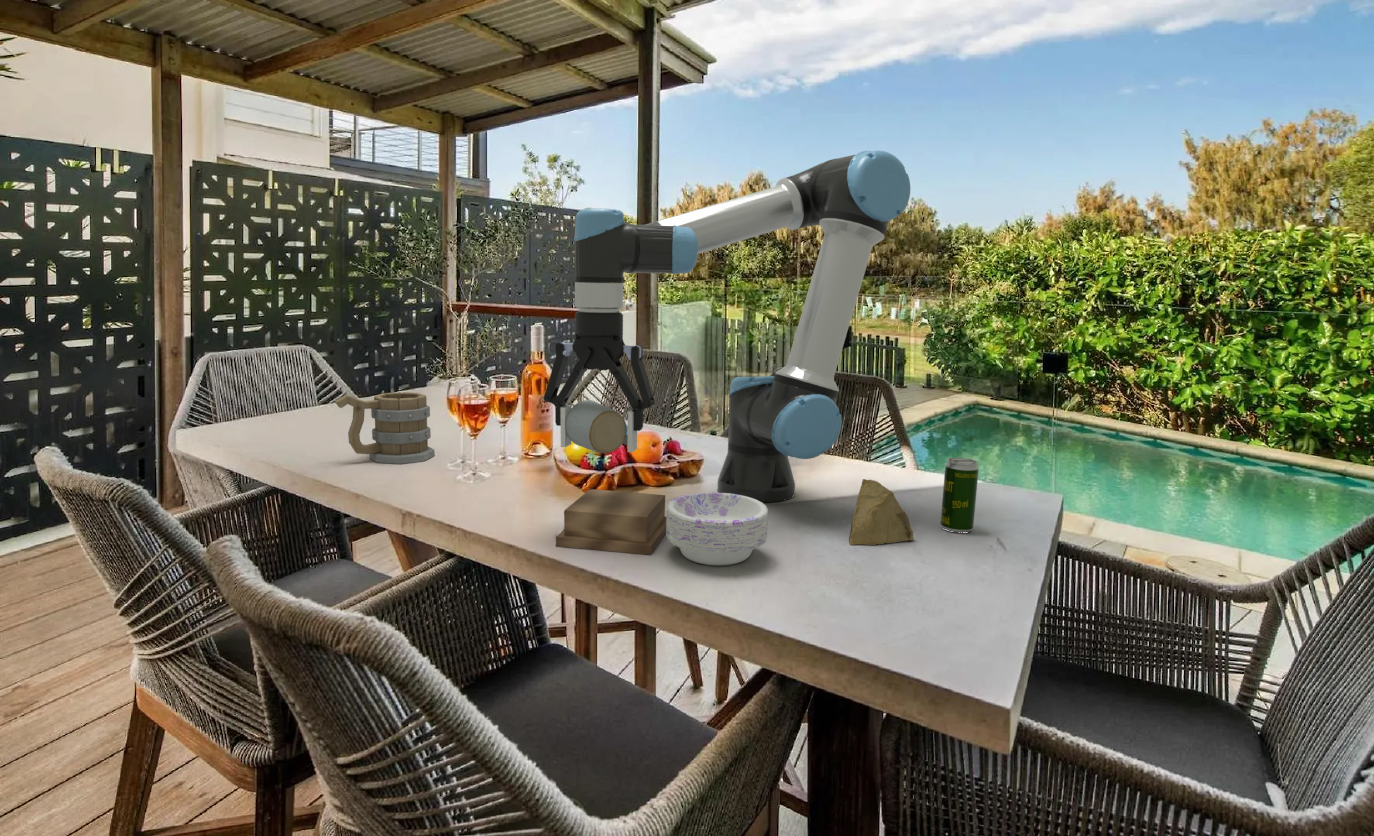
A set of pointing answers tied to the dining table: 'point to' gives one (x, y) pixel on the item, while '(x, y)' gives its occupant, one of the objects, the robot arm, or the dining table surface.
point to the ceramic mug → (596, 427)
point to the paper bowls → (716, 527)
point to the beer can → (959, 494)
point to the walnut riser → (614, 522)
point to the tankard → (392, 427)
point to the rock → (878, 517)
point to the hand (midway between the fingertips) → (598, 448)
